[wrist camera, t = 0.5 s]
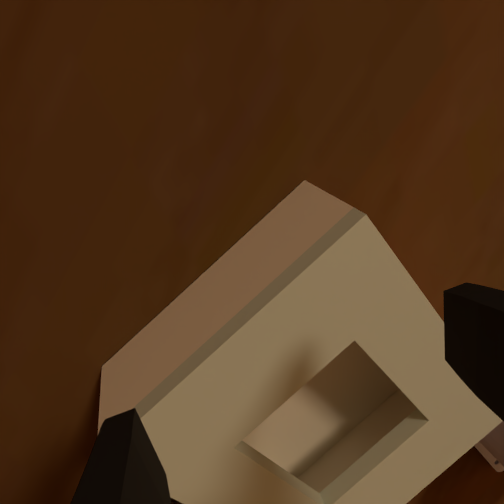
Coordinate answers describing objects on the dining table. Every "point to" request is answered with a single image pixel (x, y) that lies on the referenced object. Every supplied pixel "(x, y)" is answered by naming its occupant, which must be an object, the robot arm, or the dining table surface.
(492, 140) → the dining table surface
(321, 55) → the dining table surface
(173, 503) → the gold rounded piece
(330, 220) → the beige square holder
